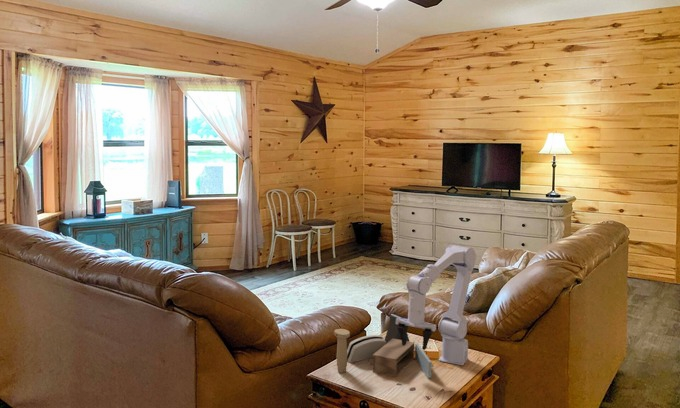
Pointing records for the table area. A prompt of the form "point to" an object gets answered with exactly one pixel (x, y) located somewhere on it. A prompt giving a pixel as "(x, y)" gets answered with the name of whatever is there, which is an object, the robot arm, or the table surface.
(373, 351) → the grey curved piece
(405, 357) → the cabinet
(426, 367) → the door
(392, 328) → the phone stand
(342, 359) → the handle
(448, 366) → the table surface
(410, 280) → the robot arm
